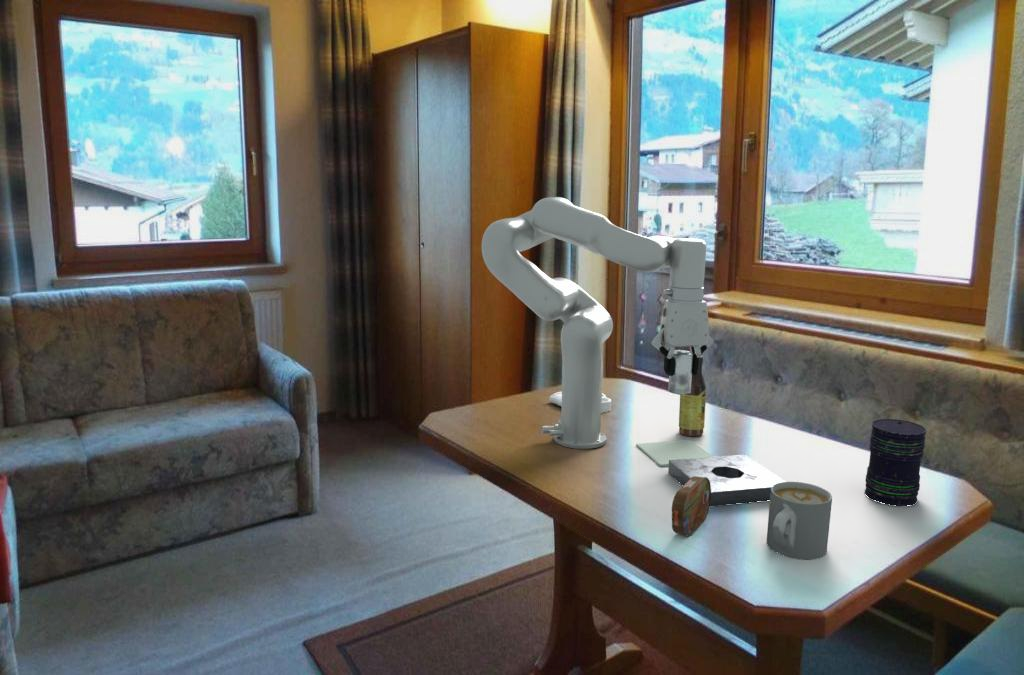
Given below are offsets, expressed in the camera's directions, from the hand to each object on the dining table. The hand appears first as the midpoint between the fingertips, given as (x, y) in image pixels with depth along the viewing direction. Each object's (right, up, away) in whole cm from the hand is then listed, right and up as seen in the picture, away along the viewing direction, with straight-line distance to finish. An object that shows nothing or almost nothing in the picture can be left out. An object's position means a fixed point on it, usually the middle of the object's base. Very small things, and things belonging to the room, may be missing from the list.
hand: (680, 373), depth 179 cm
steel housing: (+6, -23, -15) cm, 28 cm away
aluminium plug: (0, -4, +1) cm, 4 cm away
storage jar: (+38, -24, -19) cm, 49 cm away
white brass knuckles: (-19, -11, +42) cm, 47 cm away
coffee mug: (+10, -29, -42) cm, 52 cm away
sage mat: (0, -19, +4) cm, 19 cm away
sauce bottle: (+6, -16, +19) cm, 25 cm away
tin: (-5, -27, -33) cm, 43 cm away
